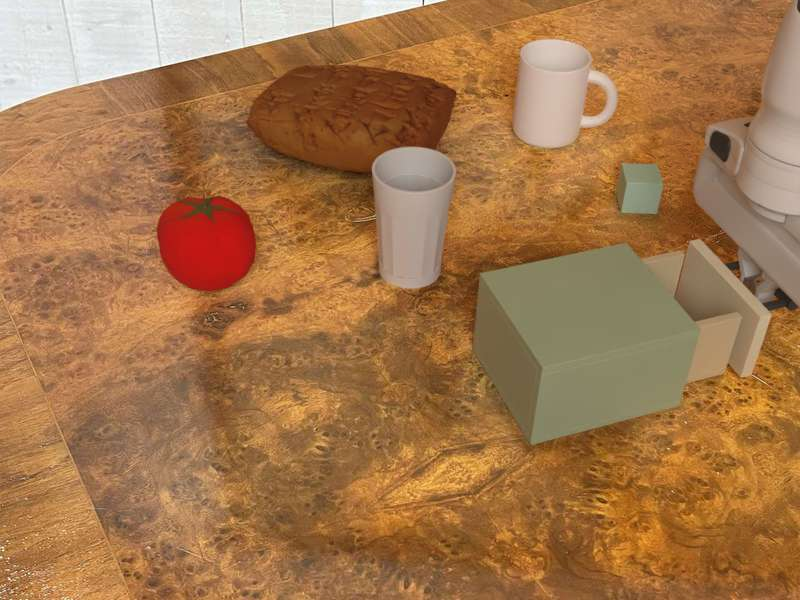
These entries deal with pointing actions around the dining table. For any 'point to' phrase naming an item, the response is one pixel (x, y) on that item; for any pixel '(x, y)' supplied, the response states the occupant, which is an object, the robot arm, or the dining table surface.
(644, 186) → the block
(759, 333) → the drawer
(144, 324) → the dining table surface
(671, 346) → the cabinet
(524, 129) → the mug
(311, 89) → the brown bread loaf
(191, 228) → the tomato
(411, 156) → the cup
